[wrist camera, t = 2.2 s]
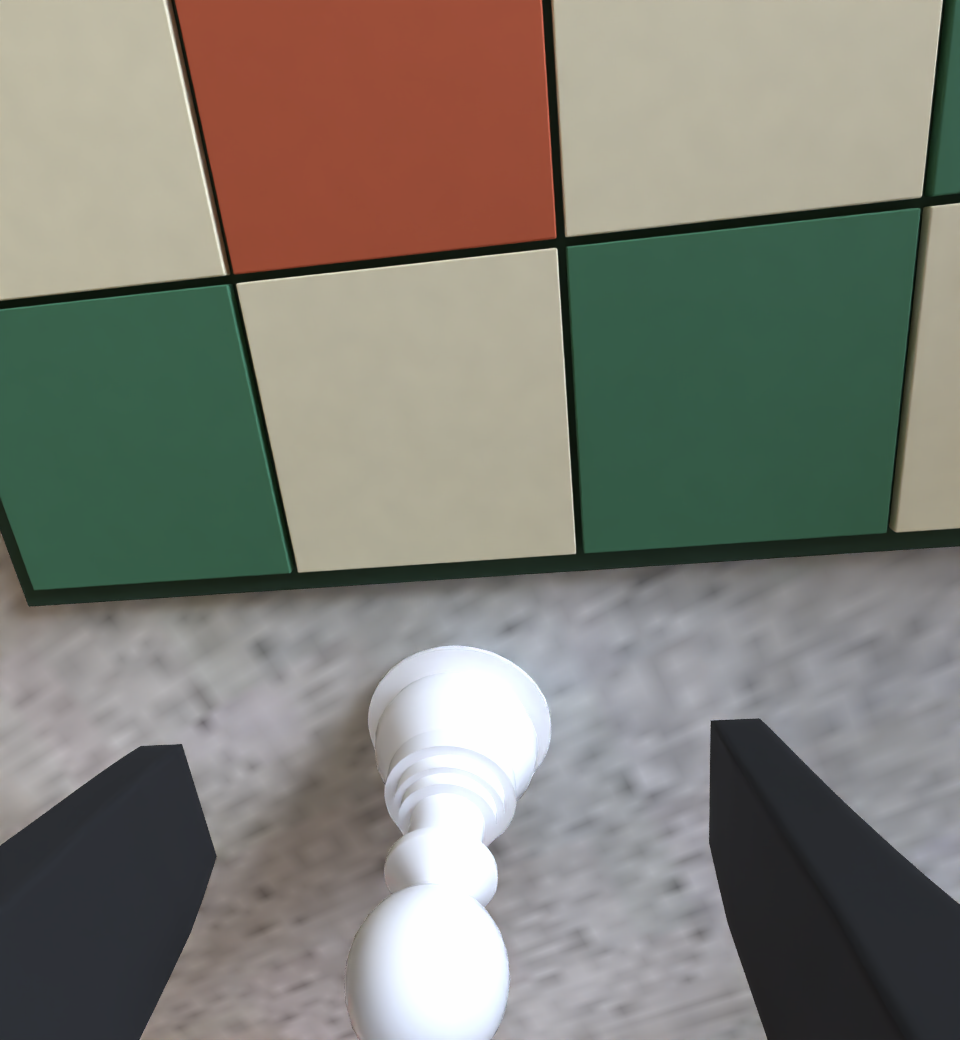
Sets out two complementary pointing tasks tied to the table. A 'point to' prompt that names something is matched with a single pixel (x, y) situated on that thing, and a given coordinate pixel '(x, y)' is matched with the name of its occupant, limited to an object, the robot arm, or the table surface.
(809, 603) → the table surface
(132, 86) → the chess mat
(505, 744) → the chess pawn
